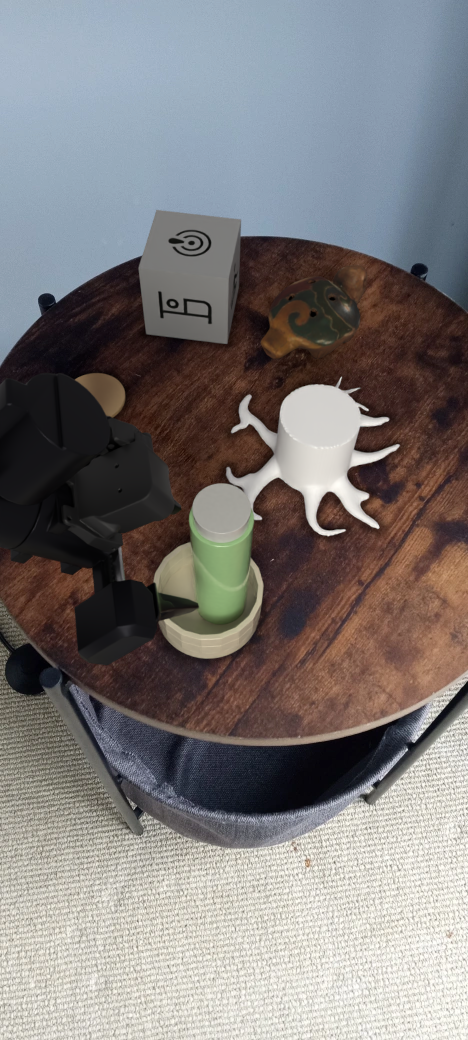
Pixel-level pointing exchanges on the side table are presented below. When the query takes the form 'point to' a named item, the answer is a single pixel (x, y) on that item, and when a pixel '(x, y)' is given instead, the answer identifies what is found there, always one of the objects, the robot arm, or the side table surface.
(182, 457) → the side table surface
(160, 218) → the icon cube
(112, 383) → the coaster
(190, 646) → the bowl
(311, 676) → the side table surface
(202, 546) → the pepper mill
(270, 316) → the ocarina
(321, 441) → the tree stump
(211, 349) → the side table surface
